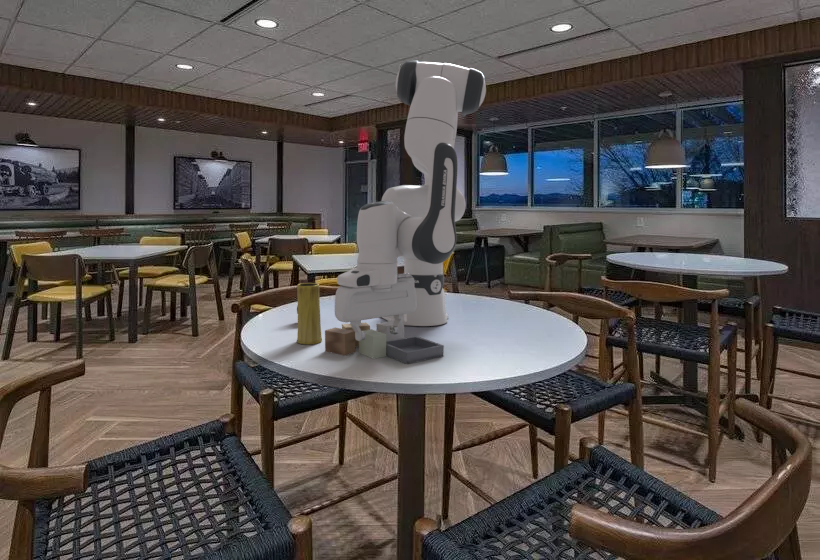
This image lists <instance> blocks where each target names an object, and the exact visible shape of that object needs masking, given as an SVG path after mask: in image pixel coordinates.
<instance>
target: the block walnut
mask: <svg viewBox="0 0 820 560" xmlns="http://www.w3.org/2000/svg"><path fill="white" fill-rule="evenodd" d="M324 349H325V350H324V352H328V353H331V352H332V354H336V355H341V356H348V355H351V354H354V353H355V352H356V347H355V331H352V330H346V329H342V327H341V328H339V327H332V328H328V329H325V330H324Z"/></svg>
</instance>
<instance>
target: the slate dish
mask: <svg viewBox="0 0 820 560" xmlns="http://www.w3.org/2000/svg"><path fill="white" fill-rule="evenodd" d="M444 347H445V345H444V344H441V343H438V342H435V341H432V340H430V339H427V338H426V339H425V338H423V337H420V336H417V335H414V336H409V337H404V338H402V339H397V340H391V341H386V356H385V357H389V358H392V359H394V360H396V361H399V362H401V363H404V364H406V365H409V364H413V363H418V362H423V361H428V360H432V359H437V358H441V357H444V351H445V350H444Z"/></svg>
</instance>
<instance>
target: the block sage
mask: <svg viewBox="0 0 820 560" xmlns="http://www.w3.org/2000/svg"><path fill="white" fill-rule="evenodd" d="M362 332H365V340H361V341H359V347H358V353H360V354H362V355H364V356H367V357H369V358H370V359H378V358H383V357H387V356H386V334H383V333H381V332H378V331H377V330H375V329H371V328H370V330H365V331H362Z"/></svg>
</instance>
